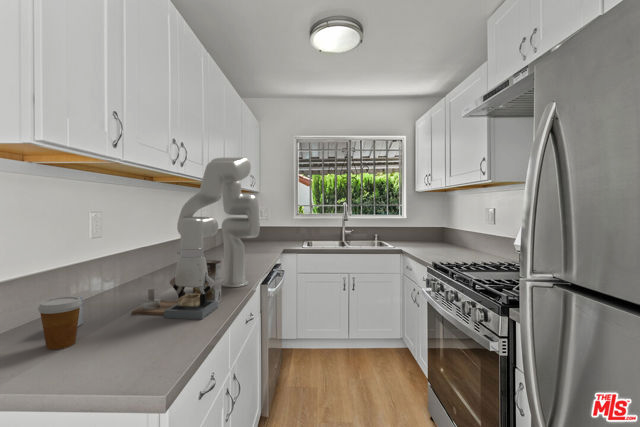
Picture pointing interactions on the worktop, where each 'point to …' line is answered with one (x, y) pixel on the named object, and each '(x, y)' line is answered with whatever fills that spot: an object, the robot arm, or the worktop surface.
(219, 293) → the brown food box
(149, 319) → the worktop surface
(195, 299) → the birch ring
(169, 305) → the stake board
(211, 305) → the grey square tray
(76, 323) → the disposable coffee cup
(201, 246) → the robot arm
